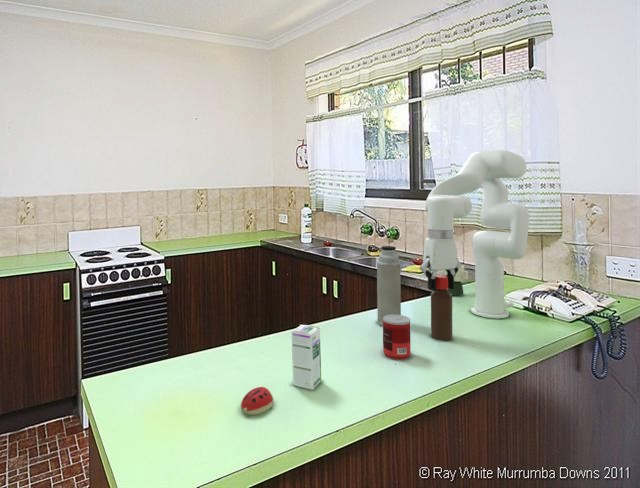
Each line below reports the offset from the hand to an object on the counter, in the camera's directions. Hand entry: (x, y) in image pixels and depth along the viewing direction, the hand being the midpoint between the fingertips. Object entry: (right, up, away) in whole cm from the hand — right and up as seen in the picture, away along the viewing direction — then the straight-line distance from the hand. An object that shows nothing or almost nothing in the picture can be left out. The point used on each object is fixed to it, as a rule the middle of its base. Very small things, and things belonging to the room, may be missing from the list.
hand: (440, 288), depth 144 cm
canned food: (-19, -17, -12) cm, 28 cm away
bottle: (+1, -16, +1) cm, 16 cm away
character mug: (+29, -14, +49) cm, 59 cm away
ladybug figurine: (-62, -19, -40) cm, 76 cm away
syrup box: (-48, -18, -29) cm, 59 cm away
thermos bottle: (-12, -16, +15) cm, 25 cm away
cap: (0, 0, 0) cm, 0 cm away
